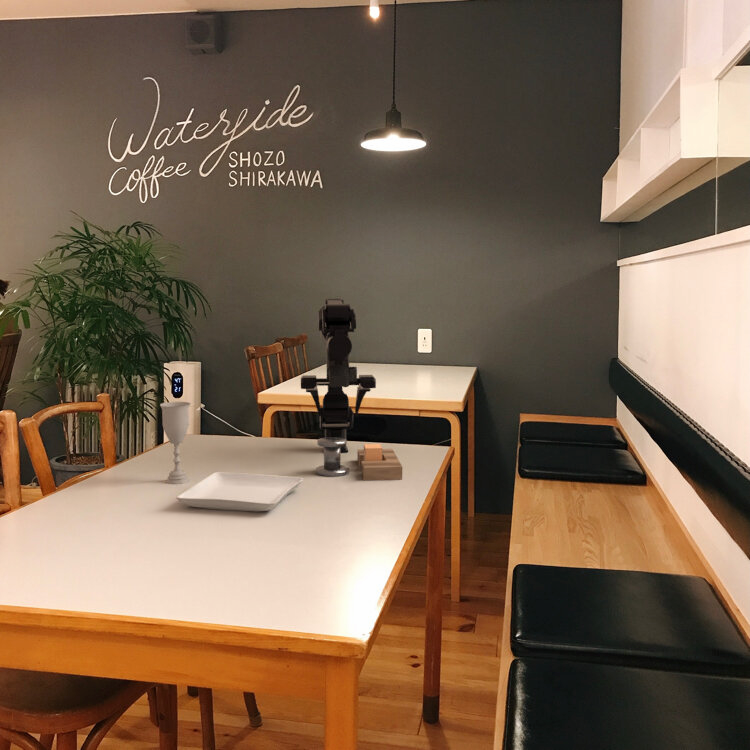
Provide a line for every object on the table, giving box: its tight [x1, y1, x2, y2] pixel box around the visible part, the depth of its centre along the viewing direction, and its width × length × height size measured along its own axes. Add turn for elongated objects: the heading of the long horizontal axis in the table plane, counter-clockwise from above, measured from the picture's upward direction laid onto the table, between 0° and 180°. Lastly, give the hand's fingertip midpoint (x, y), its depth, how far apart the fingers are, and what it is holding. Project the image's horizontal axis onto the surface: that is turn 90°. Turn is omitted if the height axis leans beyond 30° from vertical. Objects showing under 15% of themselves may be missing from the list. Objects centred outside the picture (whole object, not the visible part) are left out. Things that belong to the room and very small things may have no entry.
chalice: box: [159, 401, 191, 485], centre depth 188 cm, size 7×7×18 cm
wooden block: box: [363, 443, 383, 461], centre depth 200 cm, size 5×4×6 cm
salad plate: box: [176, 471, 304, 513], centre depth 174 cm, size 21×21×3 cm
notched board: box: [356, 448, 403, 481], centre depth 200 cm, size 20×9×3 cm, turn 6°
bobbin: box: [315, 437, 350, 478], centre depth 197 cm, size 8×8×8 cm
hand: (338, 415), depth 207 cm, fingers open, 9 cm apart
